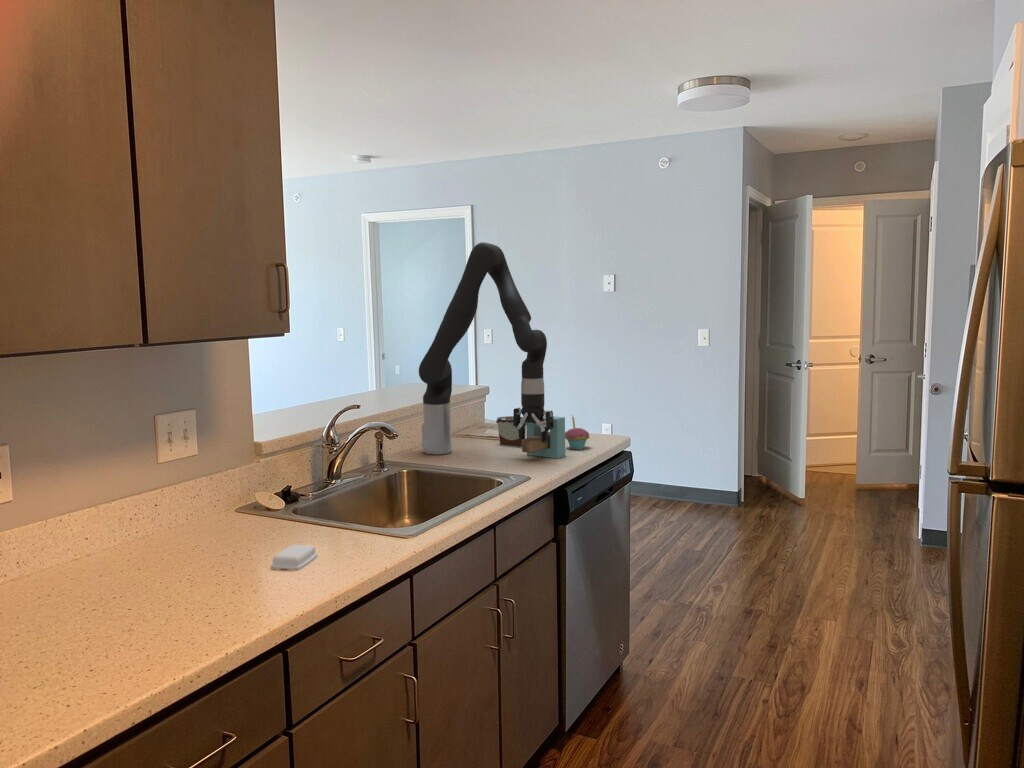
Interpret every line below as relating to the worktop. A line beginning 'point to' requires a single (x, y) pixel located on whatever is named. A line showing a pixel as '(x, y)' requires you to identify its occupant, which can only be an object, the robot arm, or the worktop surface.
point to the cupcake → (576, 437)
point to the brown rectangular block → (535, 444)
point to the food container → (508, 432)
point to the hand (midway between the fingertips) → (533, 441)
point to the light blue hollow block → (555, 438)
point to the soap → (294, 557)
